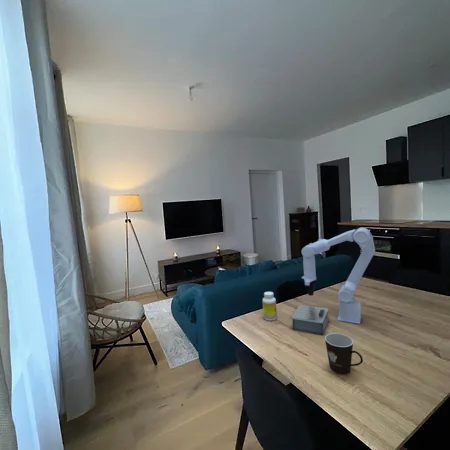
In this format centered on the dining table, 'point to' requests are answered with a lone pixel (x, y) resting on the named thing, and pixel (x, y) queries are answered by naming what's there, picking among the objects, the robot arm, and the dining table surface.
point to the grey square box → (311, 326)
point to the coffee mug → (340, 353)
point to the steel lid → (310, 313)
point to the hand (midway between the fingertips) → (310, 295)
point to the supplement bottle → (269, 306)
